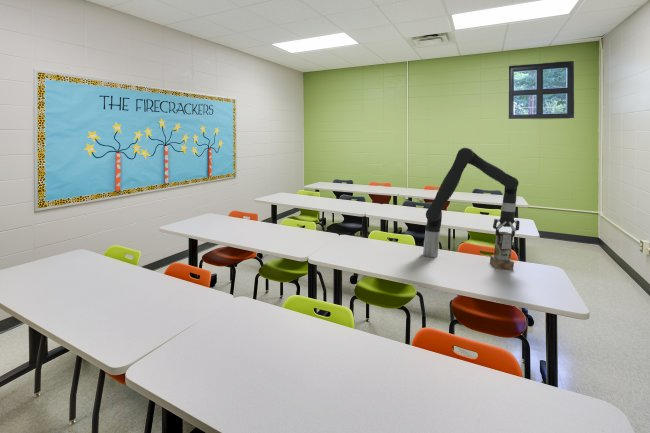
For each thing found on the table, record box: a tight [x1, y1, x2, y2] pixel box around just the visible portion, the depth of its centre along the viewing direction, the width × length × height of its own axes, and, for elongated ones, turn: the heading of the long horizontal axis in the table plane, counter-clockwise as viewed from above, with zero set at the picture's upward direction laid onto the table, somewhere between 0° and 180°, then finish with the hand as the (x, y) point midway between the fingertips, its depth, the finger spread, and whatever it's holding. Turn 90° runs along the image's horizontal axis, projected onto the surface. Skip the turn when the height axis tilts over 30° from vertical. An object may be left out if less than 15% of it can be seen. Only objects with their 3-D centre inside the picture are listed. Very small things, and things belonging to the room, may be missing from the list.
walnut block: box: [489, 254, 515, 271], centre depth 217 cm, size 10×12×5 cm
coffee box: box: [493, 231, 514, 261], centre depth 215 cm, size 9×6×16 cm
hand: (504, 236), depth 214 cm, fingers open, 8 cm apart
